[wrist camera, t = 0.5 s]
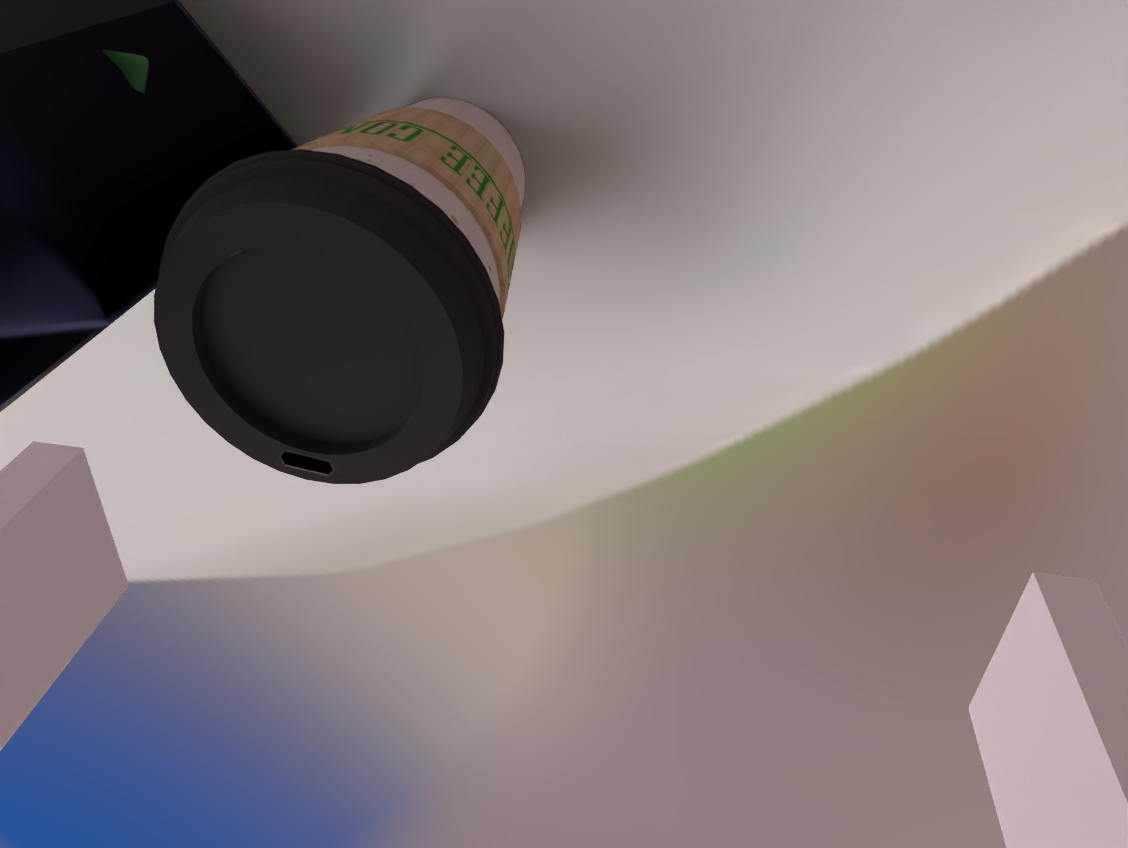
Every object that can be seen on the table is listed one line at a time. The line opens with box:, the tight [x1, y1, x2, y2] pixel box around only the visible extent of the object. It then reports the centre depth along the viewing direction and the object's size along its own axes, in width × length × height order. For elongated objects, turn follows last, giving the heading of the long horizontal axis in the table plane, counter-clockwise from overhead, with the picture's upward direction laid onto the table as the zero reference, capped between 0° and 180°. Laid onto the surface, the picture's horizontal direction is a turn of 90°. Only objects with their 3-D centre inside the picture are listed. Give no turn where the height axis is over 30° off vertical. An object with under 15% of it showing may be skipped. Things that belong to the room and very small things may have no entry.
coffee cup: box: [154, 98, 525, 484], centre depth 30 cm, size 10×10×15 cm
